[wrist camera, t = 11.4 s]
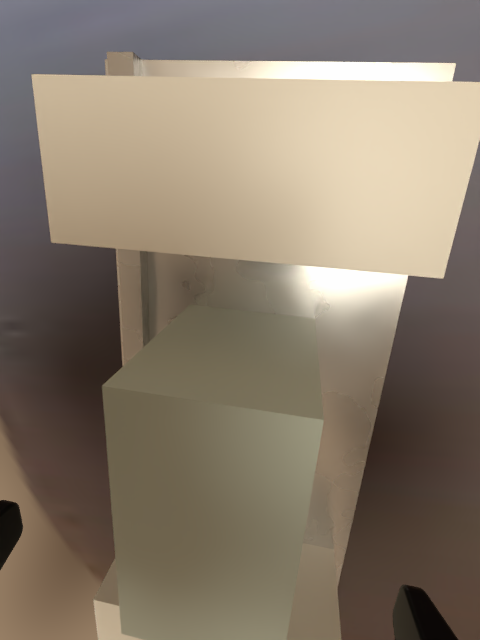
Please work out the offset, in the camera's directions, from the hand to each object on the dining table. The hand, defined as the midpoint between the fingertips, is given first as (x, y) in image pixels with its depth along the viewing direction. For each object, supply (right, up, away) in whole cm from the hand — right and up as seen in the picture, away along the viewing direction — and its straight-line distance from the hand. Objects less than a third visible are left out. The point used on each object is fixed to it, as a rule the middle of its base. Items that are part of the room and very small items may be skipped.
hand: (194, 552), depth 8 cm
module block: (+1, +2, +6) cm, 6 cm away
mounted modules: (+1, +2, +6) cm, 6 cm away
